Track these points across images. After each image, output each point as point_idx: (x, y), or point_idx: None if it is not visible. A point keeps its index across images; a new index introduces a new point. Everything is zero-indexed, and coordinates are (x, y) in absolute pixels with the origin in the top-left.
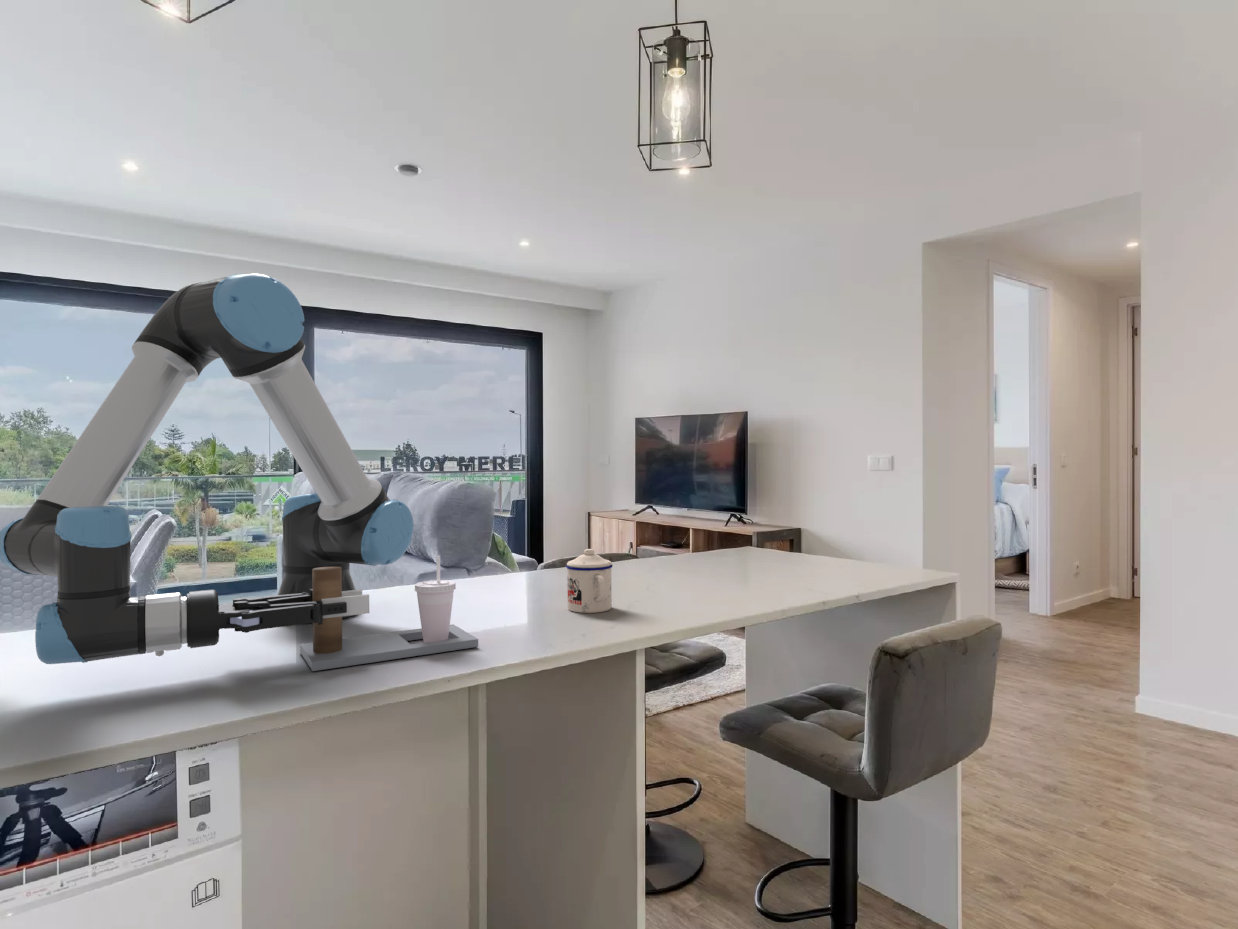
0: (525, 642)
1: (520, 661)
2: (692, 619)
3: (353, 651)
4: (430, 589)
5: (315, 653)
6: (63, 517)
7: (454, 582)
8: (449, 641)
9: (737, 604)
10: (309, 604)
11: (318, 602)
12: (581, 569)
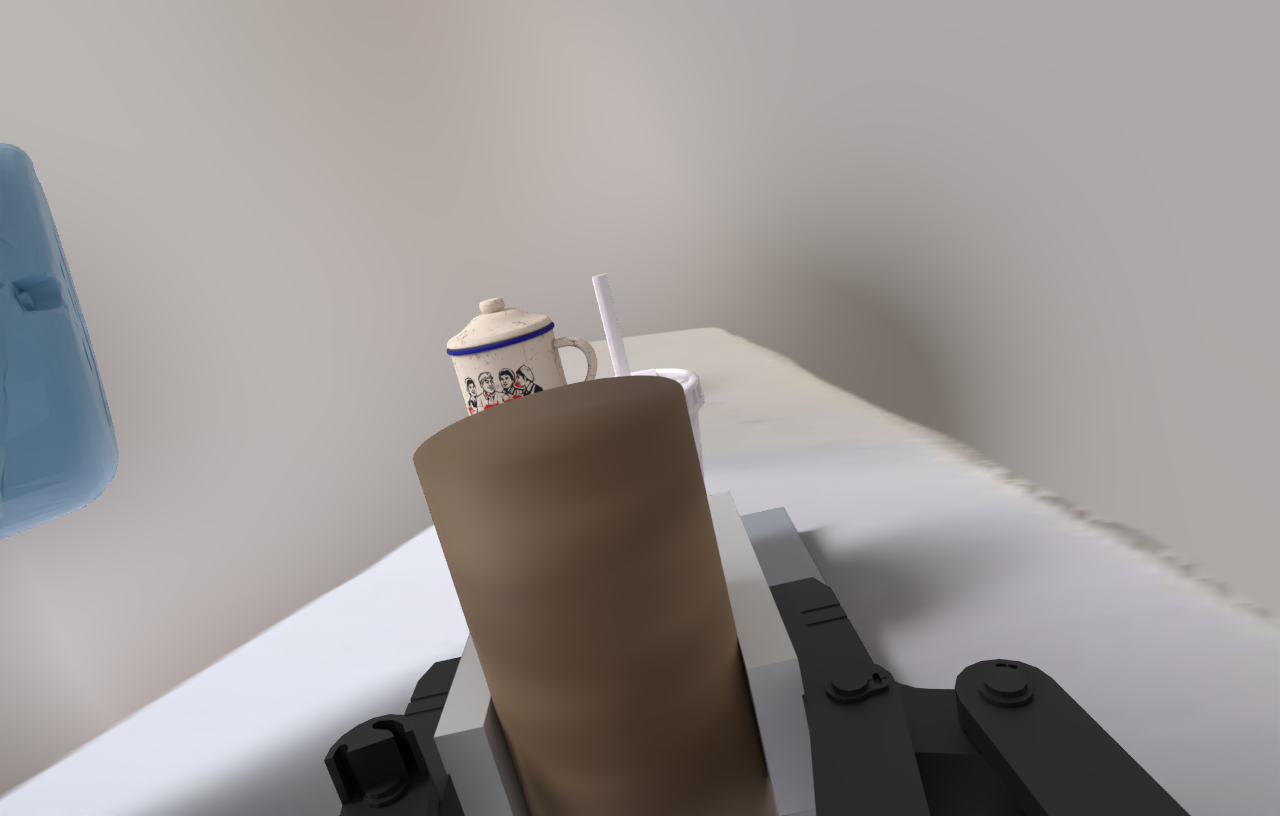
0: (771, 474)
1: (981, 467)
2: (720, 358)
3: None
4: (689, 398)
5: None
6: None
7: (638, 371)
8: (784, 552)
9: (655, 344)
10: (1000, 733)
11: (882, 681)
12: (531, 336)
